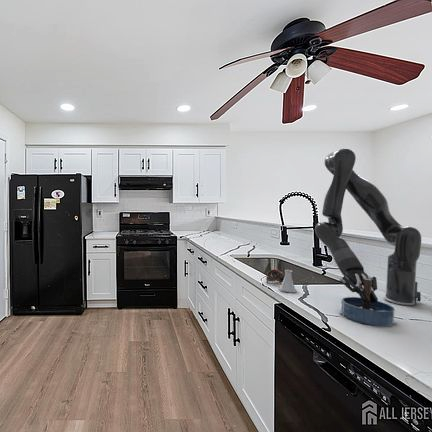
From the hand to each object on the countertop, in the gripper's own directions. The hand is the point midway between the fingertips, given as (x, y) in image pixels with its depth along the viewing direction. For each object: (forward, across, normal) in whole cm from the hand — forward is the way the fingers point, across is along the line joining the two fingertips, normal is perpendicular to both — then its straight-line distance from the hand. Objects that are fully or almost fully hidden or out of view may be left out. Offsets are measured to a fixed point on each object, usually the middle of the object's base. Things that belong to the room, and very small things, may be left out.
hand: (371, 301), depth 102 cm
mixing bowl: (+3, 0, +6) cm, 7 cm away
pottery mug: (-30, -10, +39) cm, 50 cm away
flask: (-20, -11, +30) cm, 37 cm away
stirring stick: (+3, 0, +6) cm, 7 cm away
